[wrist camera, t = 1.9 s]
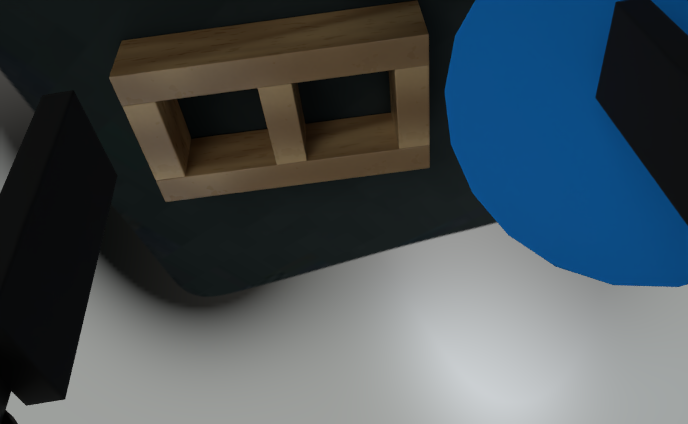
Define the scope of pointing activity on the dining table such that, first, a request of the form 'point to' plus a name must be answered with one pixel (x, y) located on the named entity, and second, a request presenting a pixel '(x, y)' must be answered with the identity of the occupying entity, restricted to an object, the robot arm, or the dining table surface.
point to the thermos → (558, 141)
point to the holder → (278, 100)
